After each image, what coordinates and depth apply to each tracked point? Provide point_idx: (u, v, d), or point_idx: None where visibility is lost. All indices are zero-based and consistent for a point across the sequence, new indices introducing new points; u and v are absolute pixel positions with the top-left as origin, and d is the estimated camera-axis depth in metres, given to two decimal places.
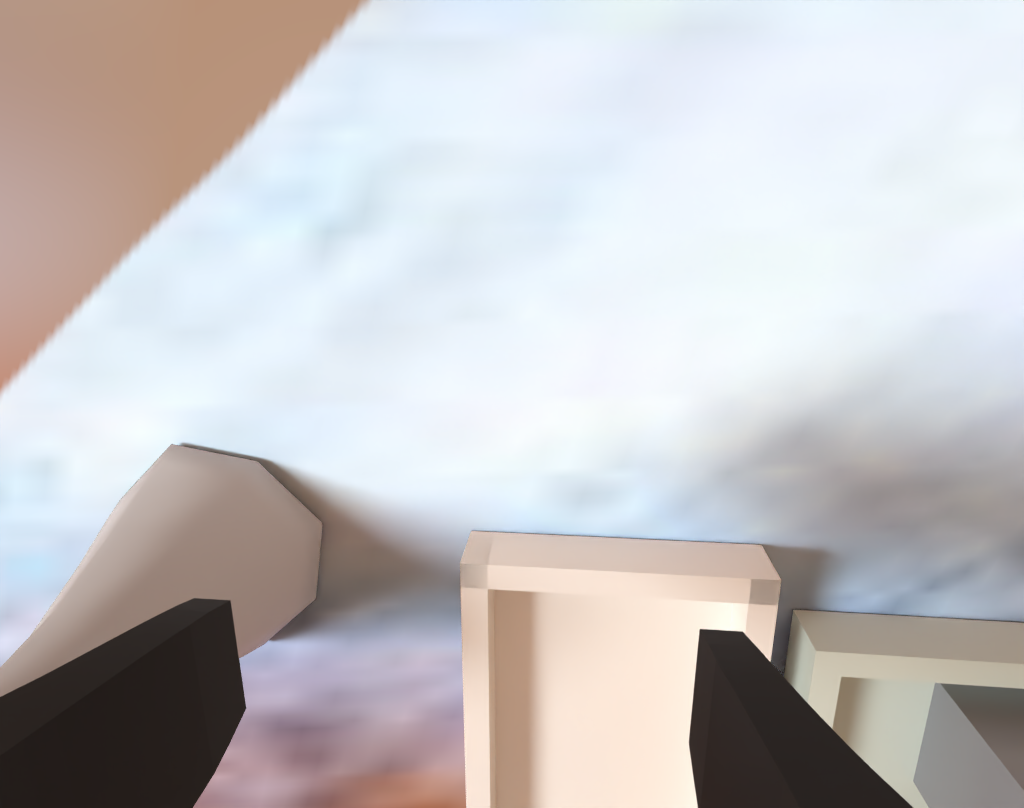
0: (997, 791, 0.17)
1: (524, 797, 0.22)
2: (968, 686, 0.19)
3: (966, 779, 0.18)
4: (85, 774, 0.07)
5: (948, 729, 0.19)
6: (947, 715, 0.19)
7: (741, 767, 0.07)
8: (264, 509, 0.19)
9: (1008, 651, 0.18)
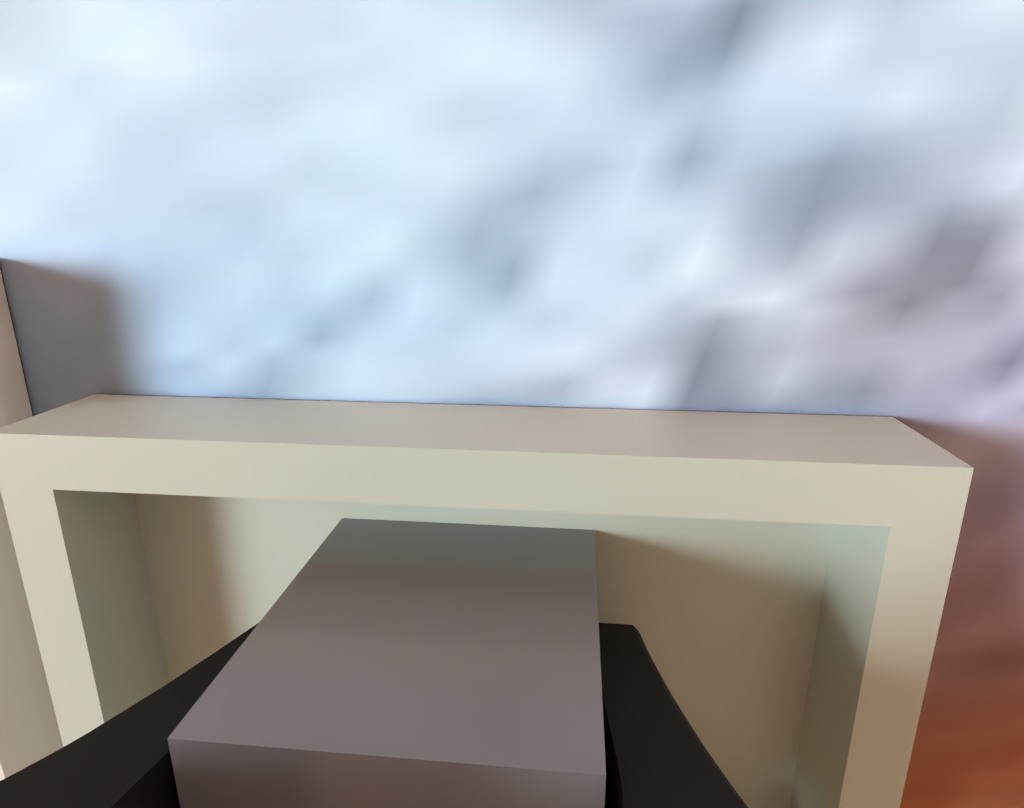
0: None
1: None
2: (384, 528, 0.10)
3: None
4: None
5: None
6: None
7: None
8: None
9: (387, 433, 0.09)
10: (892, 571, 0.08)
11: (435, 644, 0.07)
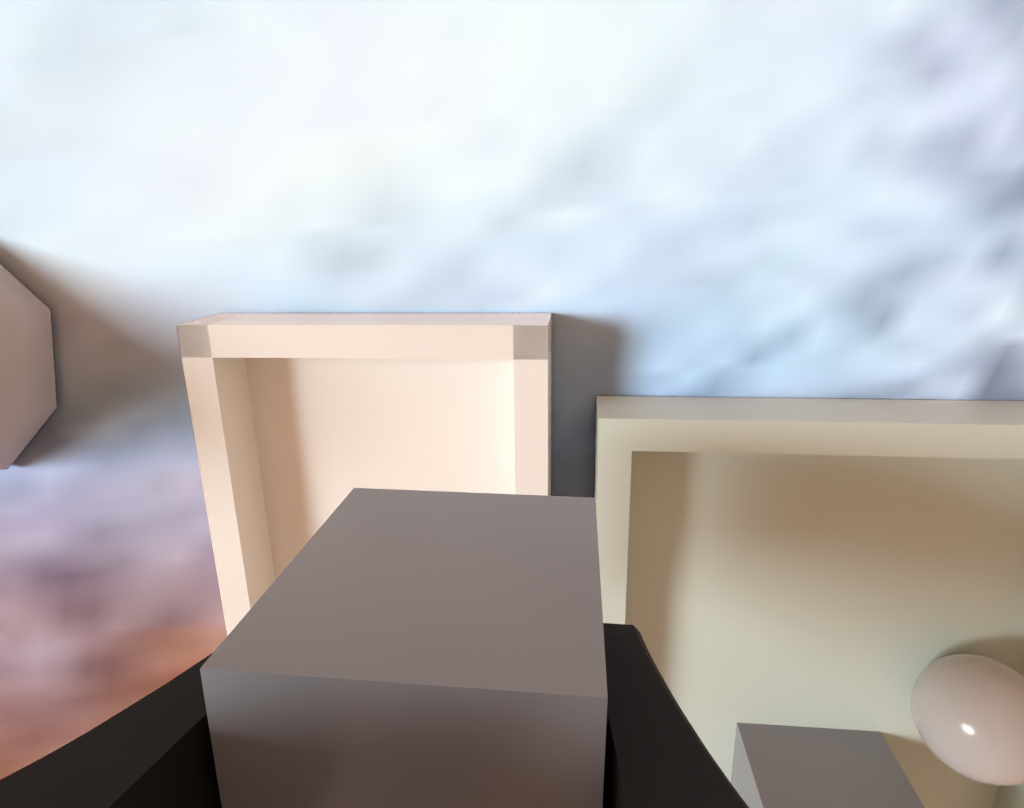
0: None
1: None
2: (394, 496, 0.10)
3: None
4: (213, 786, 0.07)
5: None
6: None
7: None
8: None
9: (831, 415, 0.15)
10: None
11: (445, 592, 0.08)
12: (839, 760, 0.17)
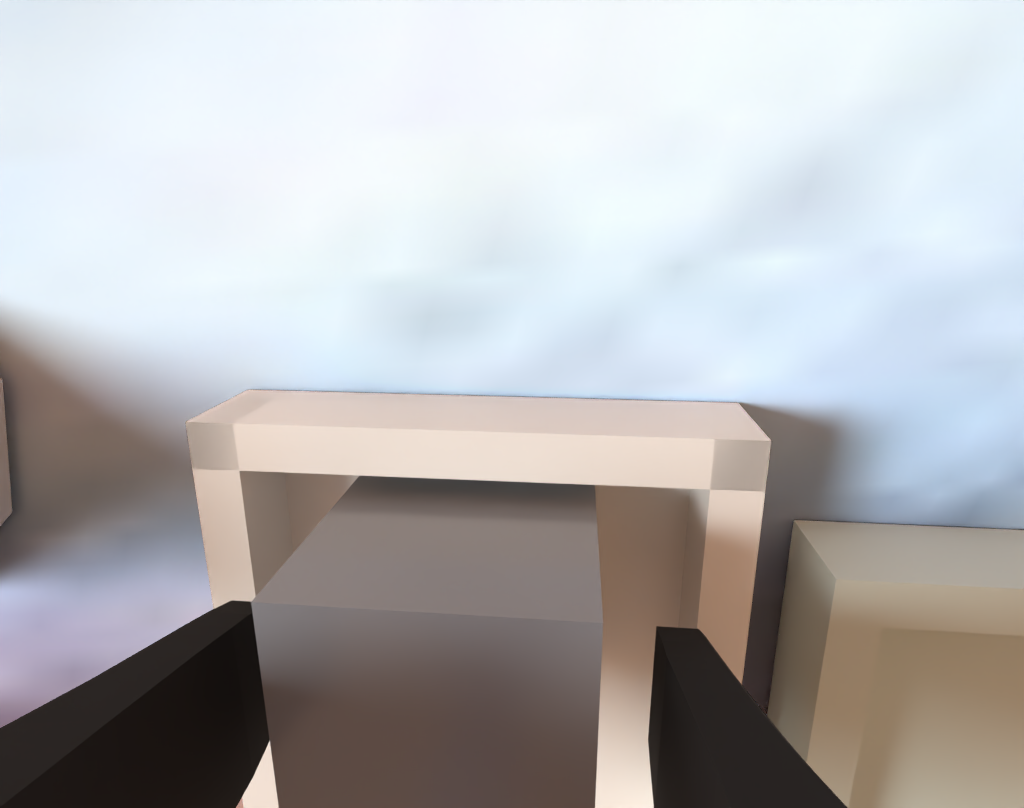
0: None
1: None
2: None
3: None
4: (136, 779, 0.07)
5: None
6: None
7: (686, 762, 0.07)
8: None
9: None
10: None
11: (460, 543, 0.09)
12: None
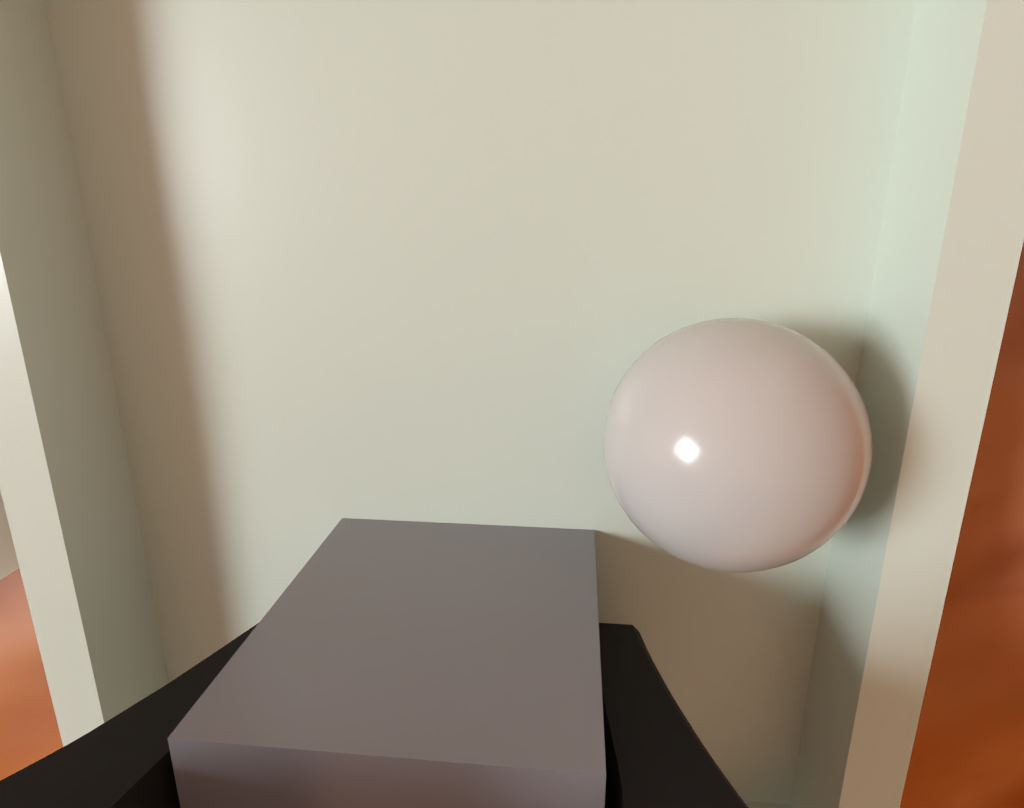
0: None
1: None
2: None
3: None
4: None
5: None
6: None
7: None
8: None
9: None
10: None
11: None
12: (484, 563, 0.09)
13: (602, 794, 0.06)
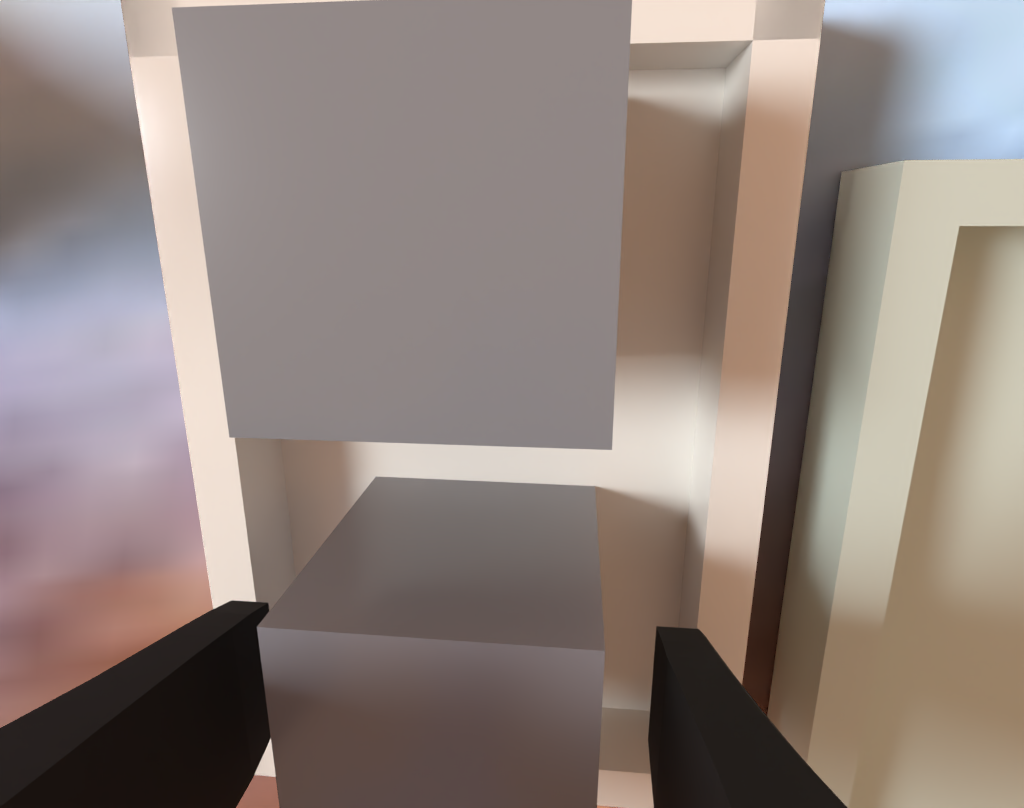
0: None
1: None
2: None
3: None
4: (136, 779, 0.07)
5: None
6: None
7: (686, 762, 0.07)
8: None
9: None
10: None
11: None
12: (501, 510, 0.10)
13: (602, 667, 0.07)
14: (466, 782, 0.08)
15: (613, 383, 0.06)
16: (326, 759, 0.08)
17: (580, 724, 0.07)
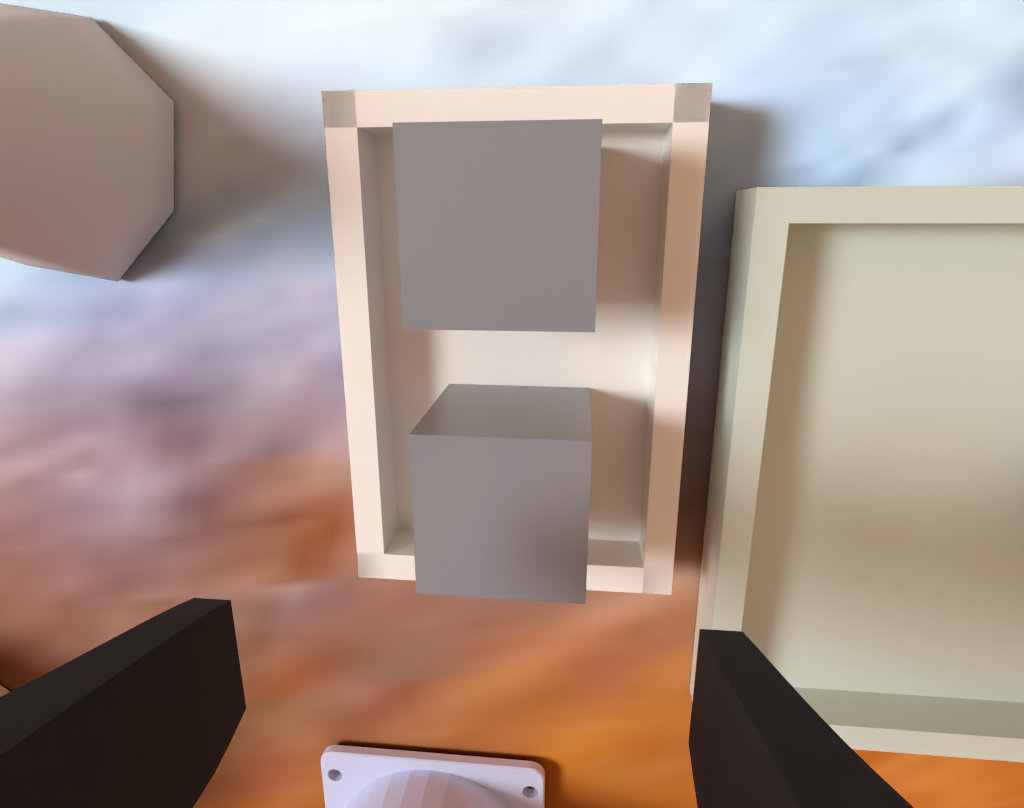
0: None
1: None
2: None
3: None
4: (85, 774, 0.07)
5: None
6: None
7: (741, 767, 0.07)
8: (93, 55, 0.16)
9: None
10: None
11: None
12: (531, 397, 0.17)
13: (590, 450, 0.14)
14: (518, 522, 0.14)
15: (595, 298, 0.13)
16: (442, 511, 0.14)
17: (579, 484, 0.14)
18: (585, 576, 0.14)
